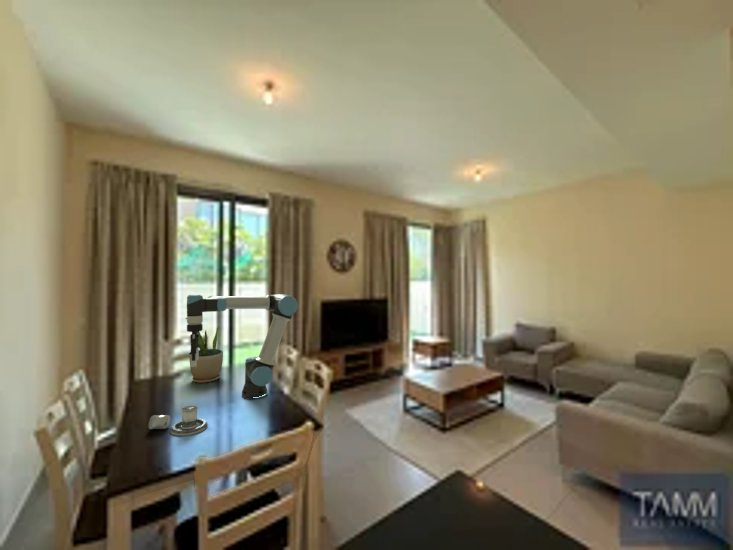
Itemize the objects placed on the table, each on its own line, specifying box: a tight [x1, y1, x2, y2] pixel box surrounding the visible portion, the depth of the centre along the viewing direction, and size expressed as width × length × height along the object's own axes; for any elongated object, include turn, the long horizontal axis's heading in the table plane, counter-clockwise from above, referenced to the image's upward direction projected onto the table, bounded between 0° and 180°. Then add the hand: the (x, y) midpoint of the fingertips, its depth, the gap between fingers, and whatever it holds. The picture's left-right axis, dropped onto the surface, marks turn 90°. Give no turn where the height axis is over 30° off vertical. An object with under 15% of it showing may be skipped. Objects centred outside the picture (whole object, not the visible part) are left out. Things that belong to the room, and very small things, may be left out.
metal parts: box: [148, 414, 209, 437], centre depth 165 cm, size 25×16×6 cm, turn 95°
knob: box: [181, 404, 199, 430], centre depth 166 cm, size 7×7×9 cm
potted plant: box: [188, 322, 224, 384], centre depth 240 cm, size 21×22×40 cm
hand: (194, 363), depth 185 cm, fingers open, 13 cm apart
